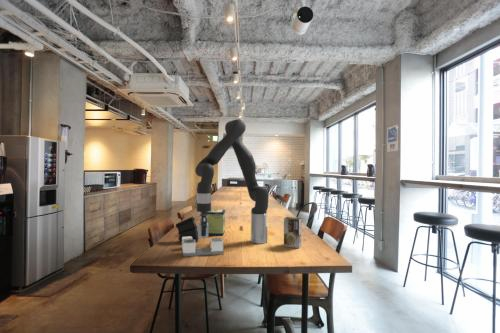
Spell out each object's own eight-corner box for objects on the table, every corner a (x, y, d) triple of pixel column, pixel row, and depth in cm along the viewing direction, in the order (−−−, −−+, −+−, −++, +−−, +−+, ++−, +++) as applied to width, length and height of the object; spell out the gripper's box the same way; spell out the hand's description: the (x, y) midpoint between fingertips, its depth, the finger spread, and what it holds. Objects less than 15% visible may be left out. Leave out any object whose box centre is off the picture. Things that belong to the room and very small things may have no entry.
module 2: (207, 235, 138) (207, 222, 138) (208, 237, 133) (208, 224, 133) (197, 235, 137) (198, 222, 137) (198, 237, 132) (198, 224, 132)
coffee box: (301, 245, 151) (302, 217, 151) (299, 248, 145) (299, 219, 145) (286, 243, 155) (286, 216, 155) (283, 246, 149) (283, 218, 149)
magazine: (201, 240, 152) (191, 217, 153) (182, 249, 154) (172, 225, 155) (203, 239, 156) (193, 215, 157) (184, 247, 158) (174, 224, 159)
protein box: (223, 235, 171) (223, 212, 171) (199, 235, 171) (200, 211, 171) (225, 231, 181) (225, 209, 181) (202, 231, 181) (203, 209, 181)
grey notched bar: (221, 249, 141) (221, 237, 141) (223, 254, 134) (223, 241, 134) (183, 252, 136) (183, 239, 136) (183, 256, 129) (183, 243, 129)
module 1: (190, 246, 146) (191, 236, 146) (192, 249, 142) (192, 237, 142) (181, 247, 144) (182, 237, 144) (183, 250, 140) (183, 238, 140)
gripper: (212, 203, 129) (211, 238, 129) (209, 200, 143) (209, 231, 143) (197, 203, 127) (196, 238, 127) (196, 200, 141) (195, 232, 141)
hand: (203, 234), depth 135 cm, fingers closed on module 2, 4 cm apart
